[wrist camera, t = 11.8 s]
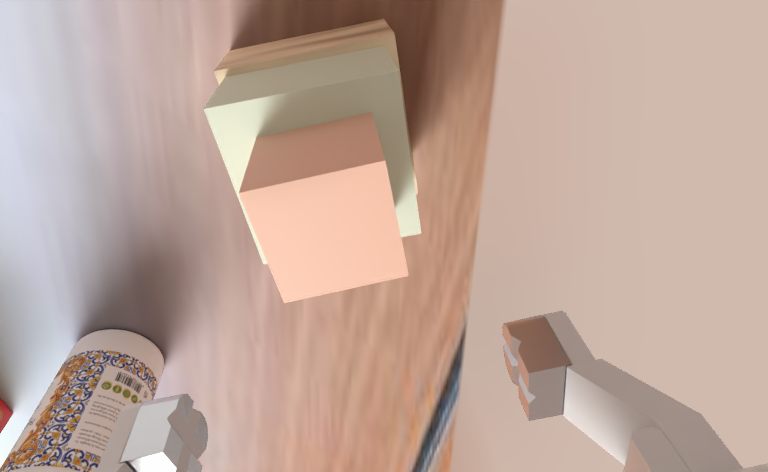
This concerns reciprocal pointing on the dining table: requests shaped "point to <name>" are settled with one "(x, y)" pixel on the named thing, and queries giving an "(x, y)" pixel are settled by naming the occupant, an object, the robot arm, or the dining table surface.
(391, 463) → the dining table surface
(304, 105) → the sage middle block
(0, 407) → the baking soda box
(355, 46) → the birch base block
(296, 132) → the terracotta cube
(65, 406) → the bath foam
